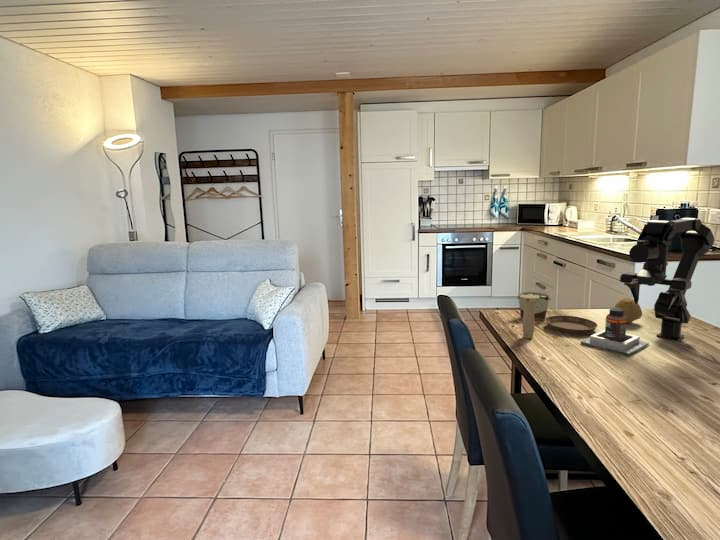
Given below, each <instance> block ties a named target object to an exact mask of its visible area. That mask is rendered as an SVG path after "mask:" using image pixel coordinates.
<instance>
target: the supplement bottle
mask: <svg viewBox="0 0 720 540" xmlns="http://www.w3.org/2000/svg"><path fill="white" fill-rule="evenodd" d="M623 314H624V310H623V309H620V308H615V307H611V308H609V313H608V314H607V315H606V316H605V326H604V329H605V338H606V339H610V340H615V341H619V342H625V334H627V323H626V317H625V316H624V315H623Z"/></svg>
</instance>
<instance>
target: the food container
mask: <svg viewBox="0 0 720 540" xmlns="http://www.w3.org/2000/svg"><path fill="white" fill-rule="evenodd" d="M520 295H535V296H539V301H538V302H536V303H535V305H534V316H535V320H542V321H543V320H544V321H545V319H546V318H547V312H548V307H549V301H551V298H550V295H549V294H548V293H547V294H546V293H545V292H537V291H536V292H535V291H524V292H523V291H522V292H520V293H519V294H518V295H517V299H518V303H519V314H520V315H519V316H520V319H523V314H524V302H523V301H521V300H520Z"/></svg>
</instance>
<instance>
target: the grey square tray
mask: <svg viewBox="0 0 720 540" xmlns="http://www.w3.org/2000/svg"><path fill="white" fill-rule="evenodd" d="M640 338H641V336H640V335H639V336H638V335H633V334H629V333H626V334H625V342H619V341H615V340H610V339H606V338H605V328H604V329H603V330H599V331H598V332H595V333H594V334H592V335H590V337H587V338H585V339H583V340H581V341H580V345H581V344H582V345H583V346H585V345H586V347H591V348H594V349H598V350H601V351H606V352H609V353H613V354H617V355H619V356H626V357H628V358H629V357H631V356H632V355H634V354H637V353H638V352H640V351H641V350H643V349H645V348H647V347H648V346H649V345H650V344H649V342H648V341H643V340H641V339H640Z"/></svg>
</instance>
